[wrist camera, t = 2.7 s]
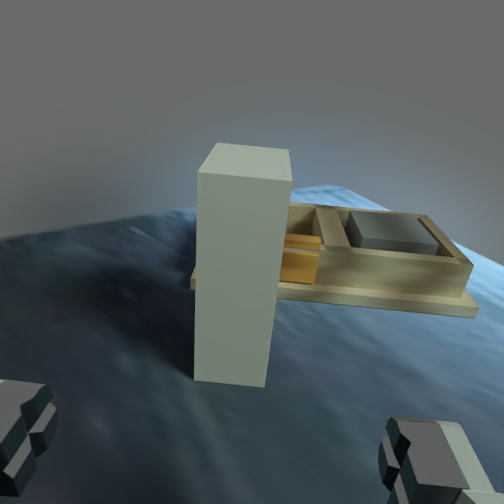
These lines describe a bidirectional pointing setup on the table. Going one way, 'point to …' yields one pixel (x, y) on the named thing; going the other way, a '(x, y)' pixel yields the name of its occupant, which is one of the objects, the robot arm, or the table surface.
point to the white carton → (238, 260)
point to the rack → (372, 261)
